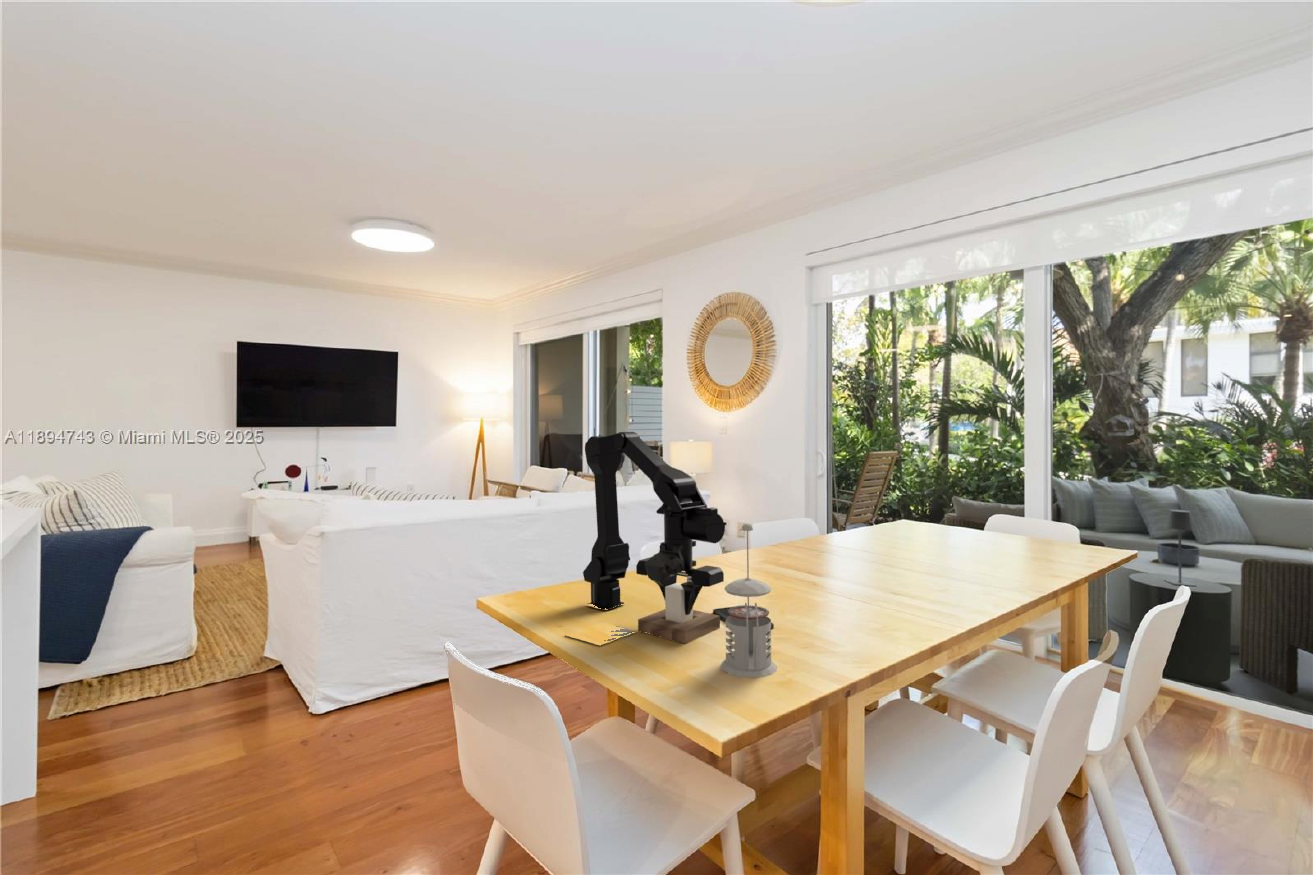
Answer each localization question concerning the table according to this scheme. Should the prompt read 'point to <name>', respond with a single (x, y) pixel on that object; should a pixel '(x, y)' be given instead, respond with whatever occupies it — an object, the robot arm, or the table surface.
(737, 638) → the french press
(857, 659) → the table surface
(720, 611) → the phone
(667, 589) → the cream block
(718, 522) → the robot arm
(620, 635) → the grey mat
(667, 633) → the walnut square frame
